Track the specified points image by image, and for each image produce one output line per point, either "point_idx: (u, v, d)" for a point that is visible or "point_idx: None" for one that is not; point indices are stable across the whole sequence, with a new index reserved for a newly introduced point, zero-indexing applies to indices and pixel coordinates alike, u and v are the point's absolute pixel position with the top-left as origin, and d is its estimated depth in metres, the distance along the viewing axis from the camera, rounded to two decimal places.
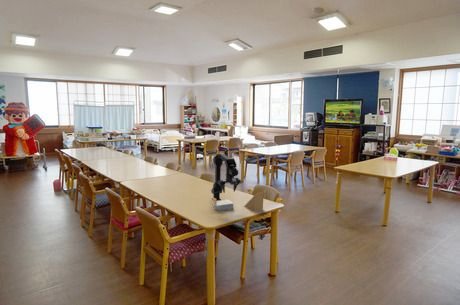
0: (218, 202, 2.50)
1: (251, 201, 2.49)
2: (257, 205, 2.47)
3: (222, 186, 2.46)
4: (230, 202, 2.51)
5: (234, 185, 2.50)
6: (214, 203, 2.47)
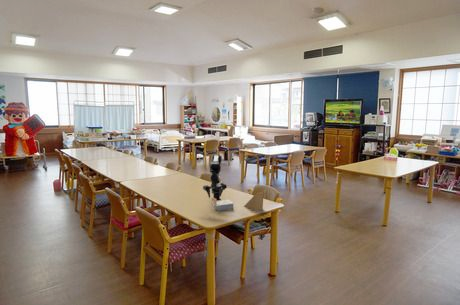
0: (218, 202, 2.50)
1: (251, 201, 2.49)
2: (258, 205, 2.47)
3: (207, 191, 2.45)
4: (230, 202, 2.51)
5: (220, 190, 2.49)
6: (214, 203, 2.47)
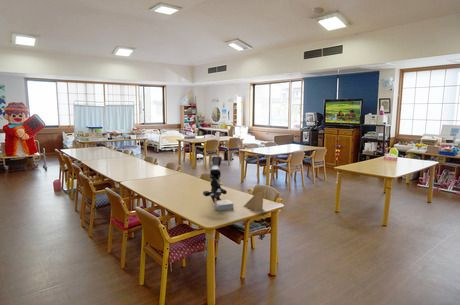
0: (218, 202, 2.50)
1: (251, 201, 2.50)
2: (257, 205, 2.48)
3: (212, 196, 2.47)
4: (230, 202, 2.51)
5: (215, 196, 2.48)
6: (214, 203, 2.47)
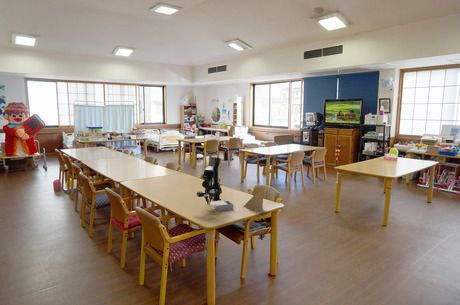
0: (212, 203, 2.48)
1: (251, 201, 2.50)
2: (258, 205, 2.48)
3: (205, 197, 2.44)
4: (224, 203, 2.49)
5: (209, 197, 2.46)
6: (208, 204, 2.44)
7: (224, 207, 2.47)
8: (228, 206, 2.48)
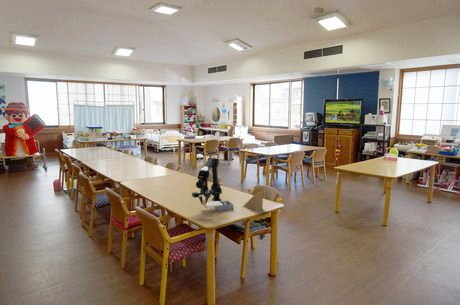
0: (208, 204, 2.46)
1: (251, 201, 2.50)
2: (257, 204, 2.48)
3: (200, 198, 2.42)
4: (220, 203, 2.47)
5: (206, 197, 2.44)
6: (203, 204, 2.43)
7: (224, 207, 2.47)
8: (228, 206, 2.48)
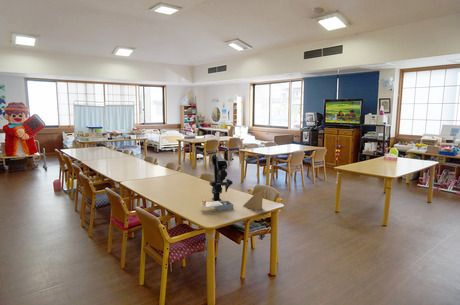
0: (208, 204, 2.46)
1: (251, 200, 2.51)
2: (257, 204, 2.49)
3: (214, 187, 2.53)
4: (220, 203, 2.47)
5: (226, 186, 2.57)
6: (203, 204, 2.43)
7: (224, 207, 2.47)
8: (228, 206, 2.48)
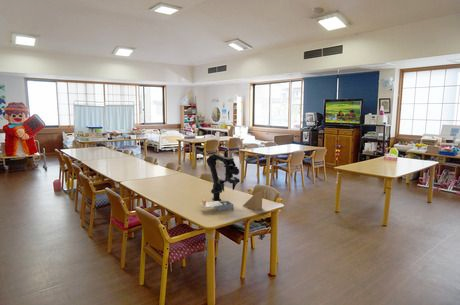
0: (208, 204, 2.46)
1: (251, 200, 2.51)
2: (257, 204, 2.49)
3: (221, 185, 2.58)
4: (220, 203, 2.47)
5: (233, 184, 2.63)
6: (203, 204, 2.43)
7: (224, 207, 2.47)
8: (228, 206, 2.48)
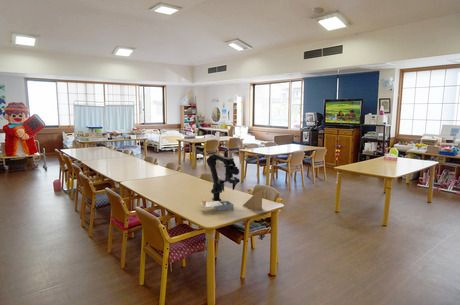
0: (208, 204, 2.46)
1: (251, 200, 2.51)
2: (257, 204, 2.50)
3: (221, 185, 2.58)
4: (220, 203, 2.47)
5: (233, 184, 2.63)
6: (203, 204, 2.43)
7: (224, 207, 2.47)
8: (228, 206, 2.48)
